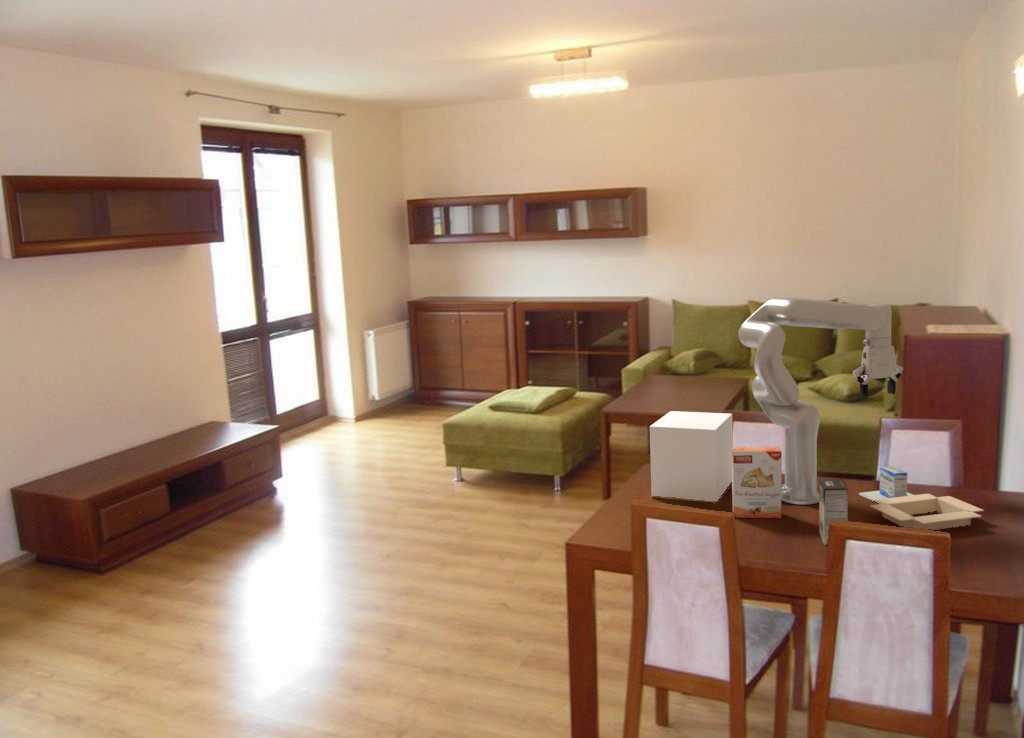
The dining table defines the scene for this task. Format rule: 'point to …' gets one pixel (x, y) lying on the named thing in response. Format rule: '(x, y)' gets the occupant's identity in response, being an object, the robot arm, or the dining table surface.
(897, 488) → the medicine box
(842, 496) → the coffee box
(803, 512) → the dining table surface
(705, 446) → the cube
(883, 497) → the sage board
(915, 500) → the carton
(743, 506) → the cracker box
